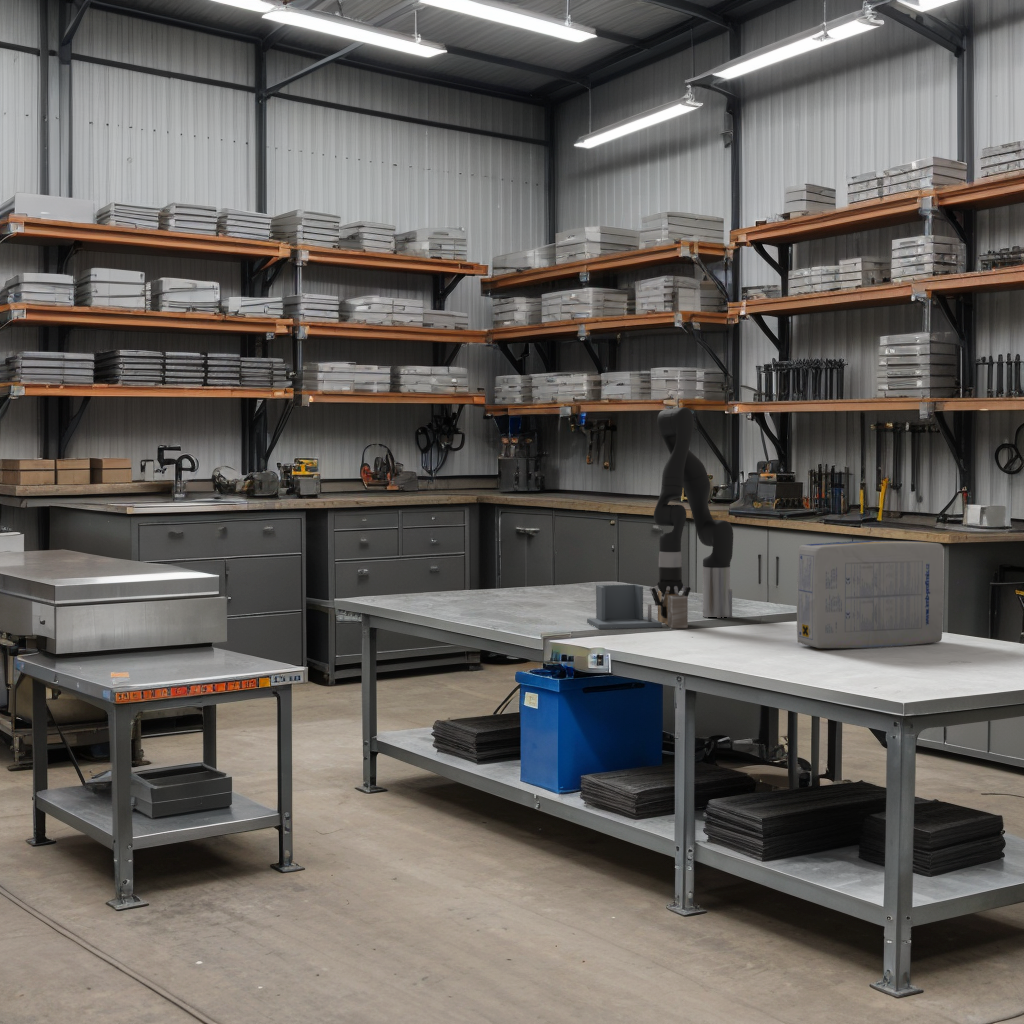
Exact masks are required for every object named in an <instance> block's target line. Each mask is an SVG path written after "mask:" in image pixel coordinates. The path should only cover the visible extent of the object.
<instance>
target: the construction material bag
mask: <svg viewBox="0 0 1024 1024" xmlns="http://www.w3.org/2000/svg"><path fill="white" fill-rule="evenodd" d="M797 555H798V556H797V571H796V573H797V575H796V579H797V580H796V638H797V643H800V644H802V645H806V646H809V647H814V648H817V649H878V647H881V648H893V647H894V648H895V647H906V646H917V645H925V644H933V643H939V642H941V641H942V638H943V620H944V617H943V616H944V589H945V588H944V579H945V578H944V570H945V569H944V546H943V544H941V543H940V542H938V543H937V542H926V541H918V540H912V541H911V540H855V541H854V540H851V541H836V542H823V543H822V542H821V543H810V544H809V543H808V544H802V545H799V546H798V553H797Z"/></svg>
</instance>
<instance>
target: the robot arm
mask: <svg viewBox="0 0 1024 1024" xmlns="http://www.w3.org/2000/svg"><path fill="white" fill-rule="evenodd" d="M656 418H657V427H658V431H659V433H660V435H661V437H662V440H663V441H664V443H665V445H666V448H667V450H668V452H669V454H670V456H669V457H668V459H667V461H666V462H665V465H664V468H663V470H662V476H661V478H662V479H661V487H660V488H661V489H660V493H659V497H658V500H657V502H656V505H655V508H654V511H653V519H654V522H655V524H656V525H657V526H661V527H662V526H663V527H673V528H672V530H671V531H670V532H665V533H661V534H660V535H659V542H658V543H659V553H658V581H657V582H658V583H657V584H656V586H653V587H649V591H650V593H651V596H652V598H653V601H654V605H655V604H658V605H660V606H661V616H663V618H667V607H666V603H667V594H677V595H680V594H679V593H680V592H681V590H682V594H681V595H684V596H687V597H688V596H689V595H690V592H691V590H692V589H691V587H689V586H687V585H686V586H685V585H684V583H683V581H682V579H683V574H682V573H683V569H682V568H683V567H682V566H683V562H682V560H683V559H682V557H683V556H682V535H683V532H684V531H683V530H684V527H685V523H686V521H687V516H688V514H687V509H686V508H685V507H684V505H681V504H669V503H670V501H672V500H675V499H678V498H679V499H680V498H681V497H682V495H683V491H684V494H685V496H686V499H687V502H688V506H689V509H690V512H691V514H692V518H693V522H694V526H695V531H696V534H697V537H698V539H699V541H700V543H701V544H702V545H704V546H706V547H712V549H711V550H712V551H711V553H710V554H709V555H708V556H705V557H704V558H703V559H702V617H703V616H704V618H708V617H717V618H716V619H725V618H724V617H727V618H733V589H732V588H731V562H732V558H733V551H734V549H733V548H734V530H733V526H732V524H731V523H730V522H729V521H727V520H722V519H714V518H713V517H712V513H711V512H710V508H709V496H710V493H711V481H710V478H709V475H708V473H707V470H706V469H707V468H706V467H705V465H704V463H703V462H702V461H701V460H700V459H699V458H698V457H697V455H695V454H694V452H692V451H691V450H690V446H691V442H692V441H691V440H692V437H693V431H694V426H695V418H694V414H693V412H692V410H691V409H690V408H689V407H685V406H684V407H675V408H667V409H664V410H661V411H660V412H659V413H658V415H657V417H656ZM658 591H661V593H662V595H661V602H660V600H659V597H658ZM721 617H722V618H721Z"/></svg>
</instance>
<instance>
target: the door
mask: <svg viewBox="0 0 1024 1024" xmlns="http://www.w3.org/2000/svg"><path fill="white" fill-rule="evenodd" d="M657 595H658V597H659V600H660V602H661V595H662V593H661V591H660V590H658V593H657ZM688 599H689V598H688V597H687V596H684V595H682V594H679V595H677V594H667V603H666V607H667V618H663V616H661V606H660V605H658V604H655V603H654V605H655V606H657V621H659V622H663V623H662V624H664V623H665V625H667V627H668V628H670V629H688V627H689V626H688V618H689V617H688V616H689V615H688V612H689V611H688V609H689V606H688V605H689V604H688V601H689V600H688Z"/></svg>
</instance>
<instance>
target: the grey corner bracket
mask: <svg viewBox="0 0 1024 1024" xmlns="http://www.w3.org/2000/svg"><path fill="white" fill-rule="evenodd" d="M595 592H596V593H595V599H596V600H595V603H596V611H595V614H596V615H595V617H594V618H593V617H591V618H590V617H589V618H587V619H586V623H587V624H588V623H589V624H588V625H590V624H591V625H590V626H592V625H593V626H592V627H594V626H595V627H596V629H597V628H598V630H612V629H614V630H615V629H616V630H618V629H619V630H620V629H645V628H646V629H647V628H662V627H663V623H662V622H660V621H658V619H654V618H652V604H651V603H648V604H647V616H644V586H642V585H640V584H637V583H634V584H601V585H600V584H599V585H595ZM595 627H594V628H595Z"/></svg>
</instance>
